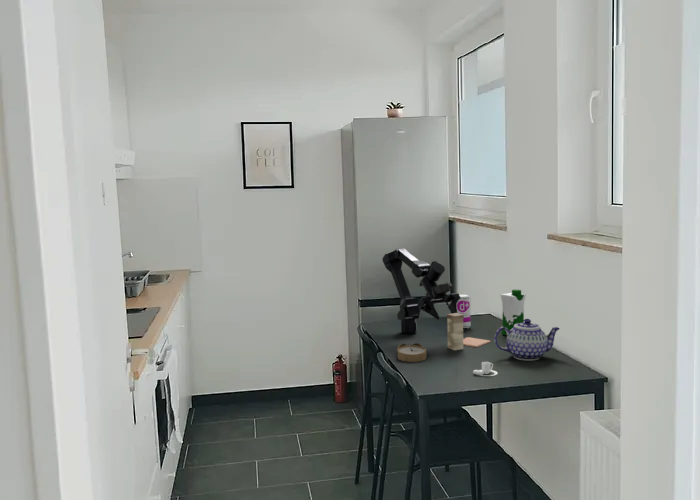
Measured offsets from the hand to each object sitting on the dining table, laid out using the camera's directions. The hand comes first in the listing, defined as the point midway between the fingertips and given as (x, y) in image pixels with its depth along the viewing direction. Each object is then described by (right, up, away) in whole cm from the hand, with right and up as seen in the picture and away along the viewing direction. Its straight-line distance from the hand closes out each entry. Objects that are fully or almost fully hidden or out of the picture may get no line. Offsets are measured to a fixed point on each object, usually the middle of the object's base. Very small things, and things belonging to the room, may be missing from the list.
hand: (447, 317), depth 273 cm
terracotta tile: (+11, -11, +6) cm, 17 cm away
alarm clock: (-16, -14, -14) cm, 26 cm away
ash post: (+3, -12, -3) cm, 13 cm away
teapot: (+27, -13, -19) cm, 36 cm away
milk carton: (+31, -9, +19) cm, 38 cm away
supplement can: (+12, -8, +36) cm, 38 cm away
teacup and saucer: (+5, -16, -37) cm, 41 cm away
